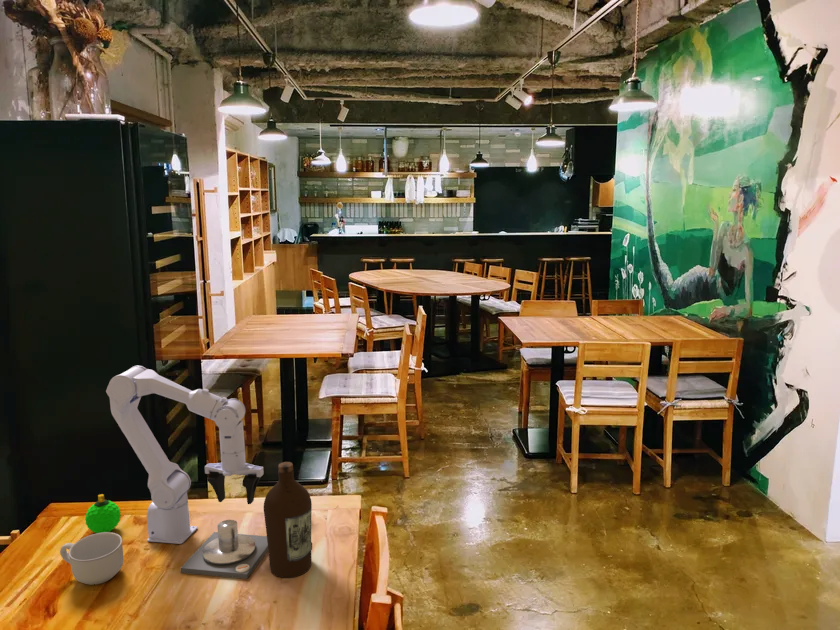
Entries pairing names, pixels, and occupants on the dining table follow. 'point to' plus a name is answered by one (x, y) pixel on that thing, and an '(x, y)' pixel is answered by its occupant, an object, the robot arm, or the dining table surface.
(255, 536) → the scale base
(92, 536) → the teacup
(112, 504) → the ornament
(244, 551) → the scale pan
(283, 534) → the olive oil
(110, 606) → the dining table surface
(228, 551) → the cylinder
